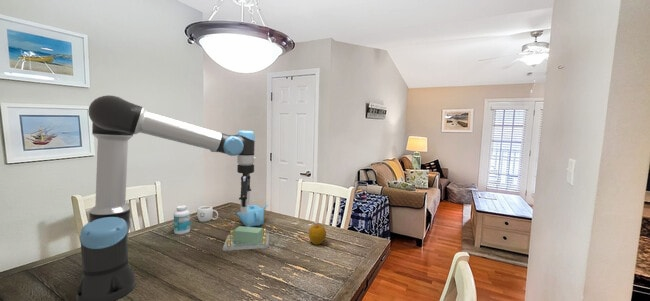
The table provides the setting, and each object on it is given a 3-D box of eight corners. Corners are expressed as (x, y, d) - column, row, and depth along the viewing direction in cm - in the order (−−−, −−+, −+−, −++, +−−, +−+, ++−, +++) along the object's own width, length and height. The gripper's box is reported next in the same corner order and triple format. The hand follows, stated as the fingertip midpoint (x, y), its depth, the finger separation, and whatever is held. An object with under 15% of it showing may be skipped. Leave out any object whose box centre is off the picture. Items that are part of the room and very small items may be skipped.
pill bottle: (173, 231, 139) (172, 205, 138) (189, 228, 143) (188, 203, 142) (174, 236, 133) (174, 209, 132) (191, 233, 137) (190, 207, 136)
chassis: (269, 235, 137) (269, 227, 136) (268, 247, 123) (268, 238, 123) (228, 237, 133) (228, 228, 132) (222, 250, 119) (222, 240, 119)
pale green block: (262, 238, 130) (262, 228, 130) (257, 243, 124) (257, 232, 124) (239, 235, 132) (239, 226, 131) (233, 241, 126) (233, 230, 125)
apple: (329, 244, 129) (330, 226, 128) (315, 248, 124) (315, 230, 123) (318, 238, 135) (319, 221, 135) (305, 242, 130) (305, 224, 129)
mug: (194, 222, 151) (193, 209, 151) (201, 217, 160) (201, 204, 159) (214, 223, 151) (214, 210, 150) (221, 218, 159) (221, 205, 158)
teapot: (232, 223, 151) (232, 204, 150) (262, 217, 162) (262, 199, 161) (242, 233, 139) (242, 212, 138) (274, 226, 150) (274, 206, 149)
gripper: (252, 168, 113) (251, 217, 114) (255, 160, 137) (255, 201, 139) (233, 168, 111) (233, 217, 113) (240, 160, 135) (240, 201, 137)
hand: (245, 208), depth 126 cm, fingers open, 13 cm apart
